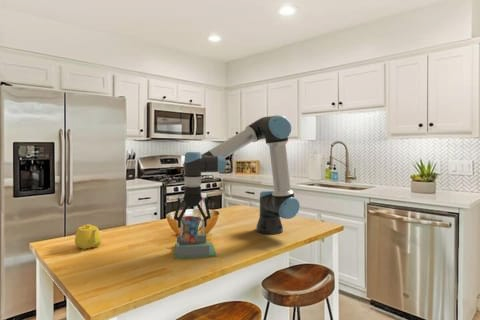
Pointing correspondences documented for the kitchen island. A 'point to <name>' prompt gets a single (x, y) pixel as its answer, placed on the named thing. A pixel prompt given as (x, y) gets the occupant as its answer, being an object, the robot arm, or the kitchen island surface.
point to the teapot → (88, 237)
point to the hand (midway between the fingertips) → (192, 234)
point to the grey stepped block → (194, 248)
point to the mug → (190, 229)
